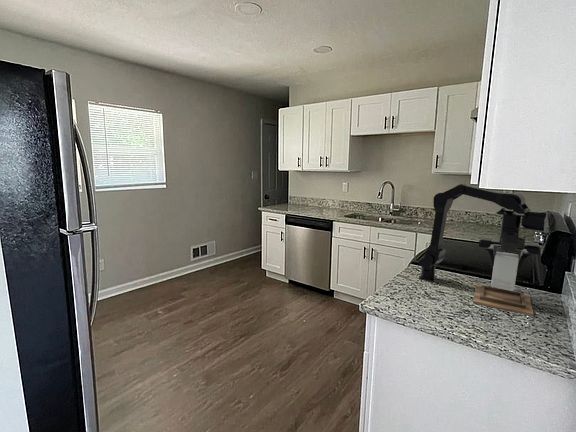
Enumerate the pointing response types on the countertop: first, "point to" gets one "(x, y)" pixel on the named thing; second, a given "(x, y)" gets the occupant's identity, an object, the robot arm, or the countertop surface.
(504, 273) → the supplement box
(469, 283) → the countertop surface
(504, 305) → the wooden tray
